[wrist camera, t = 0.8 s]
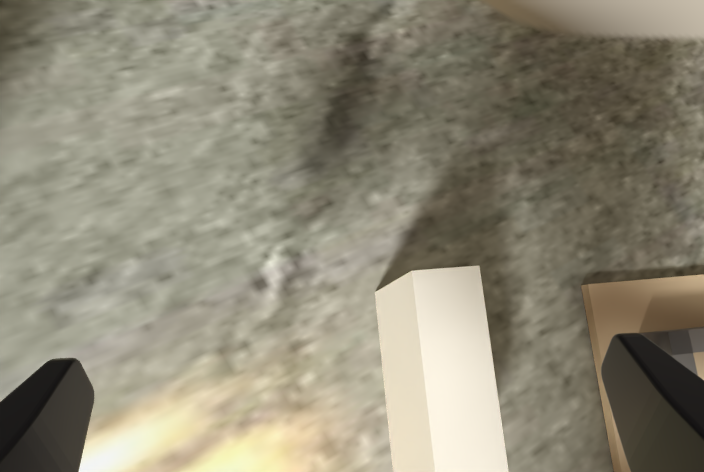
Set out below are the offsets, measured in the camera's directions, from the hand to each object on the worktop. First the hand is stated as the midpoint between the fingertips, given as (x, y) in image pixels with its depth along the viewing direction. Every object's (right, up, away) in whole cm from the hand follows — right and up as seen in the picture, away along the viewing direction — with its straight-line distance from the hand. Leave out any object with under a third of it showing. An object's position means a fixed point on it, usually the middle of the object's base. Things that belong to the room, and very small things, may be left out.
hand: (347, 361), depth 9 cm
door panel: (+3, -5, +15) cm, 16 cm away
